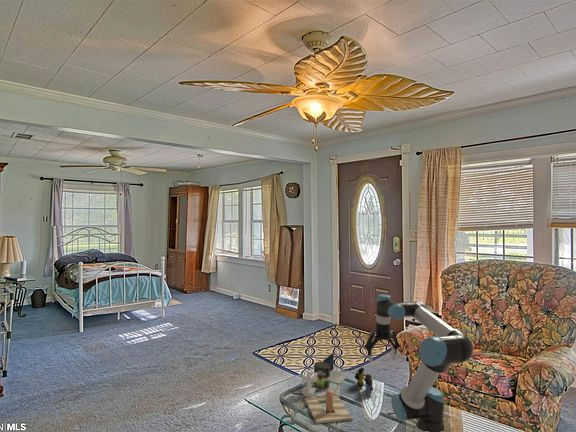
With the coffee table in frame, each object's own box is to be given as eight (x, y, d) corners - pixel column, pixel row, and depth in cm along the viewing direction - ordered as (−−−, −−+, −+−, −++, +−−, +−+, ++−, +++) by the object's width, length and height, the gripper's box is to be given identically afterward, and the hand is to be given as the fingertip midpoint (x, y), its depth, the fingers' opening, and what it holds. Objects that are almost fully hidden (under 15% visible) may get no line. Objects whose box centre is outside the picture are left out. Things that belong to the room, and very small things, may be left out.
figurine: (303, 391, 233) (304, 367, 232) (318, 394, 229) (318, 370, 229) (299, 396, 226) (300, 371, 226) (314, 400, 222) (315, 374, 222)
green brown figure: (328, 392, 233) (328, 369, 232) (311, 389, 236) (312, 366, 236) (331, 384, 243) (331, 362, 242) (315, 382, 246) (316, 360, 245)
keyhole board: (352, 420, 202) (352, 417, 202) (316, 423, 198) (316, 421, 198) (337, 398, 226) (337, 395, 226) (304, 400, 221) (304, 398, 221)
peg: (333, 414, 207) (334, 393, 207) (327, 415, 206) (327, 393, 206) (331, 410, 211) (332, 389, 211) (324, 411, 210) (325, 390, 210)
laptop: (339, 385, 243) (340, 364, 243) (322, 380, 249) (322, 360, 249) (349, 374, 259) (350, 355, 258) (332, 370, 265) (333, 351, 265)
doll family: (381, 398, 227) (382, 376, 227) (369, 401, 223) (370, 378, 223) (360, 381, 248) (360, 361, 248) (348, 383, 245) (348, 363, 244)
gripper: (400, 319, 217) (398, 356, 218) (359, 321, 212) (358, 359, 212) (406, 323, 210) (405, 361, 210) (365, 325, 205) (363, 364, 205)
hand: (381, 360), depth 211 cm, fingers open, 13 cm apart
